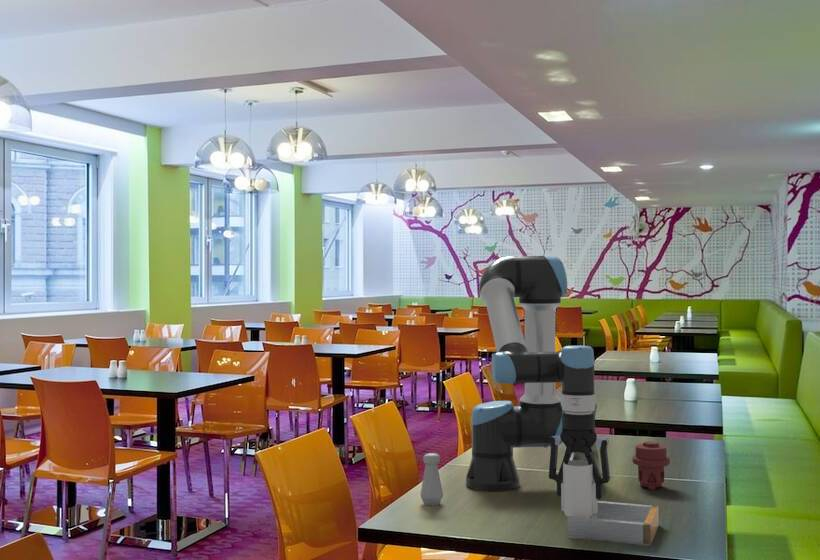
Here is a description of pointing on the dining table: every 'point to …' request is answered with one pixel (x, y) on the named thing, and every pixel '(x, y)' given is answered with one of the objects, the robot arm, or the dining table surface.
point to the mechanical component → (650, 464)
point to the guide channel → (617, 524)
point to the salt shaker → (431, 481)
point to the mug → (577, 488)
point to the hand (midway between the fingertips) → (579, 511)
